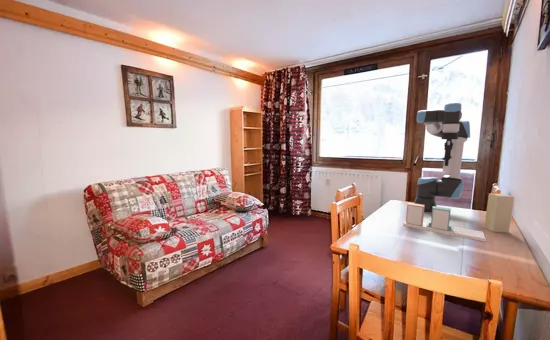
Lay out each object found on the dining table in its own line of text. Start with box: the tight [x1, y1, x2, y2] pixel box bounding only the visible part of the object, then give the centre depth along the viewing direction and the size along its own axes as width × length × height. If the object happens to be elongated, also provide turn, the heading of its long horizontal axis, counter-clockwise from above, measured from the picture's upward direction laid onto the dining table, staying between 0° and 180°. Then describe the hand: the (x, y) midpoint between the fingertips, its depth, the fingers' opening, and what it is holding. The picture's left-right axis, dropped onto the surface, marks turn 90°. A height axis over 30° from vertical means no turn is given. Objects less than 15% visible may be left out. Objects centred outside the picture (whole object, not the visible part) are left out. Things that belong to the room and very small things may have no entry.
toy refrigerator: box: [484, 193, 515, 233], centre depth 134 cm, size 8×7×21 cm
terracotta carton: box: [405, 202, 425, 226], centre depth 140 cm, size 5×8×12 cm, turn 54°
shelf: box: [402, 220, 487, 243], centre depth 136 cm, size 16×36×4 cm, turn 54°
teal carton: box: [430, 206, 452, 231], centre depth 133 cm, size 5×8×12 cm, turn 54°
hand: (446, 170), depth 138 cm, fingers open, 13 cm apart
